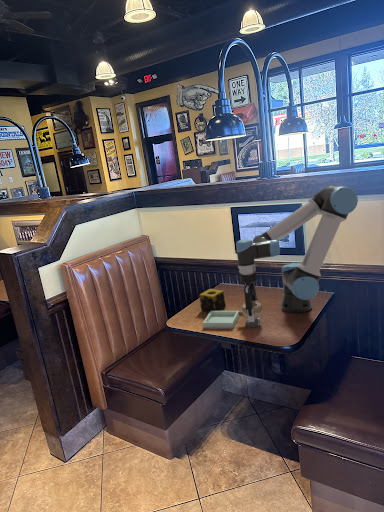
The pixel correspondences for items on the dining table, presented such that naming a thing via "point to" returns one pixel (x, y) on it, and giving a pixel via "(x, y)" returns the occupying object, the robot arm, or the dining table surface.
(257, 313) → the ring
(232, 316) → the tray
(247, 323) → the grey peg stand
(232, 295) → the dining table surface
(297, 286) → the robot arm
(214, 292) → the yellow cube with holes
